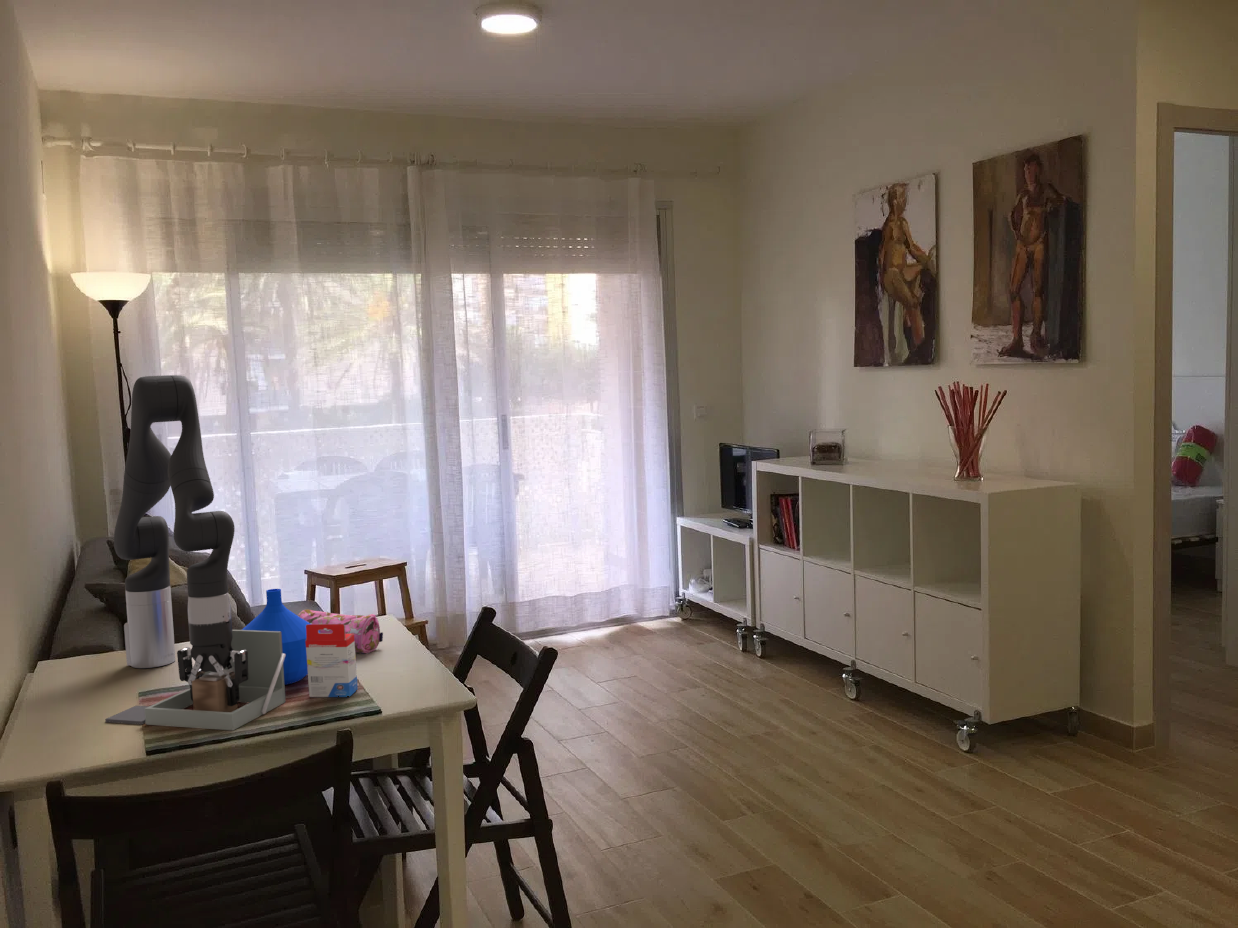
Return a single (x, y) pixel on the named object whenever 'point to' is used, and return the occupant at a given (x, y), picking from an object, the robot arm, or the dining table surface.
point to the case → (257, 691)
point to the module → (211, 694)
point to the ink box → (330, 661)
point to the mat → (129, 716)
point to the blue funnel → (284, 634)
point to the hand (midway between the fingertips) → (215, 703)
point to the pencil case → (349, 627)
